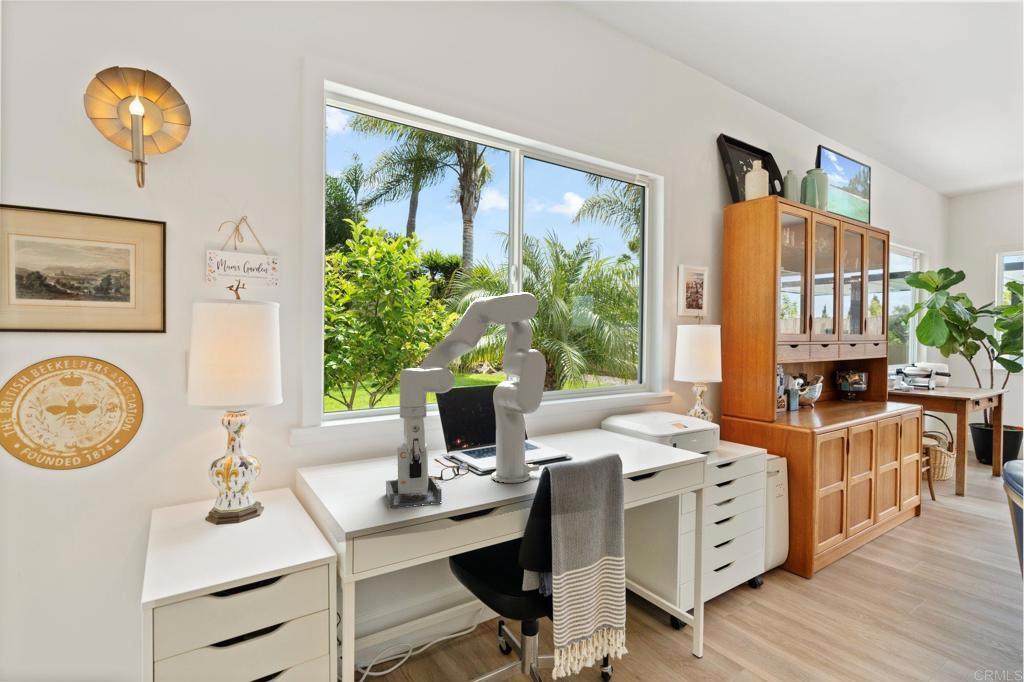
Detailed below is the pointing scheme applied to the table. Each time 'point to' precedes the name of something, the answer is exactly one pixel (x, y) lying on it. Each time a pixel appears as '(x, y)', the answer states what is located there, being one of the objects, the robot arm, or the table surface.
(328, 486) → the table surface
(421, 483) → the small box
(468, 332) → the robot arm
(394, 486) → the cradle
